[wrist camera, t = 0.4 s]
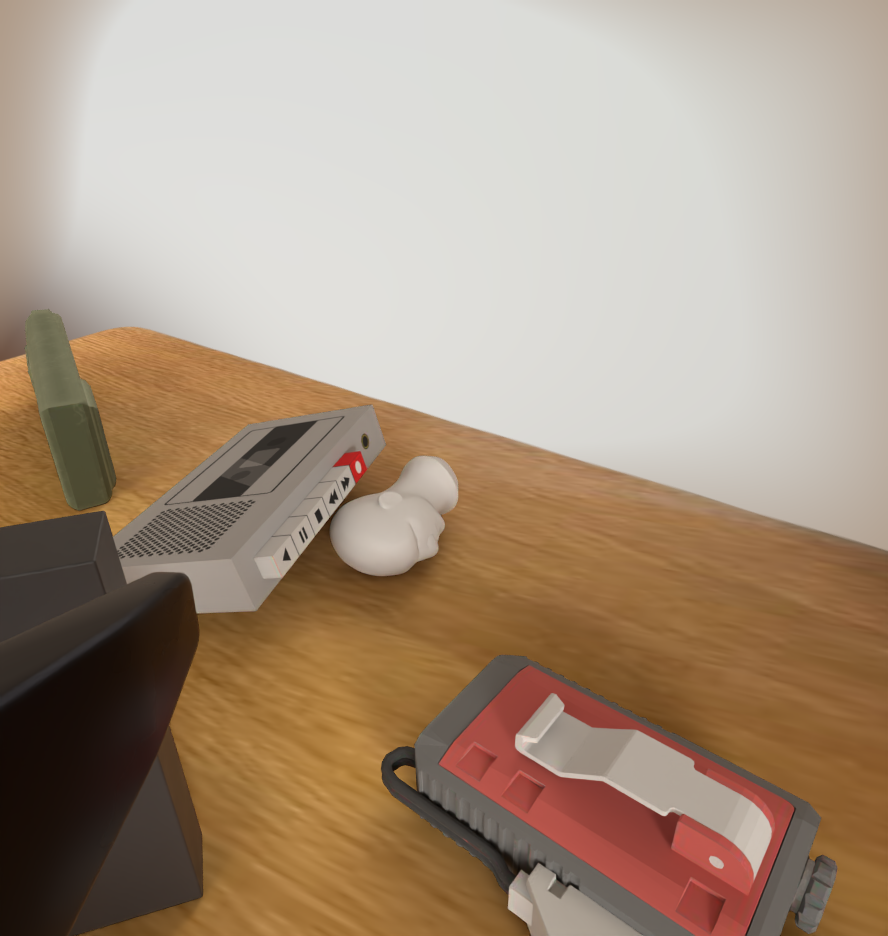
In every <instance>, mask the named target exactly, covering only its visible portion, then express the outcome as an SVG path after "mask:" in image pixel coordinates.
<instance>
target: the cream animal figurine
mask: <svg viewBox="0 0 888 936" xmlns="http://www.w3.org/2000/svg"><path fill="white" fill-rule="evenodd" d="M457 501H458V481H457V478H456V475H455V473H454V472H453V470H452V469H451V467H450V466H449V465H448V464H447V463H446V462H445V461H444V460H443V459H441V458H439V457H434V456H417V457H415V458H413V459H412V460H410V461H409V462H408V463H407V464H406V465H405V467H404V468H403V470H402V472H401V475H400V477H399V479H398V480H397V481H396V483H395V484H393V485H392V486H391V487H390V488H388V489H387V490H385V491H383V492H381V493H377V494H371V495H367V496H363V497H360V498H357V499H355V500H352V501H350V502H348V503H346V504H345V505H343V506H342V507H341V508H340V509H339V510H338V511H337V512H336V513H335V515H334V517H333V519H332V521H331V524H330V540H331V543H332V545H333V548H334V549H335V551H336V553H337V554H338V555H339V557H340V558H341V559H342V560H343V561H344V562H345V563H346V564H348V565H349V566H351V567H352V568H354V569H356V570H358V571H360V572H362V573H365V574H369V575H374V576H391V575H398V574H402V573H404V572H406V571H408V570H409V569H410V568H411V567H412V566H413V565H414V564H415V563H416V562H418V561H422V560H424V559H427V558H431V557H433V556H434V555H436V553H437V552H438V549H439V547H438V543H437V542H438V539H439V535H440V534H441V533H442V532H443V530H444V528H445V523H444V520H443V518H442V517H441V515H442V514H445V513H447V512H449V511H451V510H452V509H453V508H454V507H455V506H456V504H457Z"/></svg>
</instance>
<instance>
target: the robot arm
mask: <svg viewBox="0 0 888 936" xmlns="http://www.w3.org/2000/svg"><path fill="white" fill-rule="evenodd" d="M198 641H199V624H198V619H197V613H196V607H195V601H194V595H193V589H192V584H191V581H190V579H189V577H188V576H187V575H186V574H184V573H180V572H153V573H150V574H148V575H146V576H144V577H142V578H139V579H137V580H135V581H133V582H131V583H129V584H126V585H124V586H122V587H120V588H118V589H116V590H114V591H111V592H109V593H107V594H105V595H103V596H101V597H98V598H96V599H94V600H92V601H90V602H88V603H85V604H83V605H81V606H79V607H77V608H75V609H72V610H70V611H68V612H66V613H64V614H62V615H60V616H57V617H55V618H53V619H51V620H49V621H47V622H44V623H42V624H40V625H38V626H36V627H34V628H31V629H29V630H27V631H25V632H23V633H21V634H18V635H16V636H14V637H12V638H10V639H8V640H6V641H3V642H1V643H0V936H68V935H69V933H70V931H71V929H72V927H73V925H74V923H75V921H76V919H77V917H78V915H79V913H80V911H81V909H82V907H83V905H84V903H85V901H86V899H87V897H88V895H89V893H90V891H91V889H92V887H93V884H94V882H95V880H96V878H97V876H98V874H99V872H100V870H101V868H102V866H103V864H104V862H105V860H106V858H107V856H108V854H109V852H110V850H111V848H112V846H113V844H114V842H115V840H116V838H117V836H118V834H119V832H120V830H121V828H122V826H123V824H124V822H125V820H126V818H127V816H128V814H129V812H130V810H131V808H132V806H133V804H134V802H135V800H136V798H137V796H138V794H139V792H140V790H141V788H142V786H143V784H144V782H145V780H146V778H147V776H148V774H149V772H150V769H151V767H152V765H153V763H154V761H155V759H156V756H157V754H158V752H159V749H160V747H161V744H162V742H163V739H164V737H165V734H166V731H167V729H168V726H169V723H170V720H171V718H172V715H173V712H174V710H175V707H176V704H177V701H178V699H179V696H180V693H181V690H182V688H183V685H184V682H185V679H186V677H187V674H188V671H189V668H190V666H191V663H192V660H193V657H194V655H195V652H196V649H197V646H198Z"/></svg>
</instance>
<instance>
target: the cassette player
mask: <svg viewBox="0 0 888 936" xmlns="http://www.w3.org/2000/svg"><path fill="white" fill-rule="evenodd" d="M385 446H386V443H385V440H384V437H383V434H382V431H381V428H380V425H379V423H378V420H377V417H376V414H375V411H374V408H373V405H366V406H360V407H354V408H348V409H341V410H335V411H329V412H323V413H317V414H311V415H304V416H298V417H292V418H286V419H280V420H274V421H267V422H261V423H255V424H249V425H247V426H246V427H245V428H244V429H242V430H241V431H240V432H239V433H238V434H236V435H235V436H234V437H233V438H232V439H230V440H229V441H228V442H227V443H226V444H224V445H223V446H222V447H221V448H219V449H218V450H217V451H216V452H215V453H213V454H212V455H211V456H210V457H209V458H207V459H206V460H205V461H204V462H203V463H201V464H200V465H199V466H198V467H197V468H195V469H194V470H193V471H192V472H191V473H189V474H188V475H187V476H186V477H185V478H183V479H182V480H181V481H180V482H178V483H177V484H176V485H175V486H174V487H172V488H171V489H170V490H169V491H168V492H166V493H165V494H164V495H163V496H162V497H160V498H159V499H158V500H157V501H156V502H154V503H153V504H152V505H151V506H150V507H148V508H147V509H146V510H145V511H144V512H142V513H141V514H140V515H139V516H137V517H136V518H135V519H134V520H133V521H131V522H130V523H129V524H128V525H127V526H125V527H124V528H123V529H122V530H121V531H119V532H118V533H117V534H116V535H115V536H113V539H114V542H115V546H116V549H117V552H118V556H119V559H120V562H121V566H122V569H123V572H124V576H125V579H126V582H127V584H129V583H131V582H133V581H135V580H137V579H139V578H142V577H144V576H146V575H148V574H150V573H153V572H180V573H184V574H186V575H187V576H188V577H189V579H190V581H191V584H192V589H193V595H194V601H195V607H196V613H220V612H245V611H257V609H258V608H259V607H260V605H261V604H262V603H263V602H264V600H265V599H266V598H267V597H268V595H269V594H270V593H271V591H272V590H273V589H274V588H275V586H276V585H277V584H278V582H279V581H280V580H281V579H282V578H283V576H284V575H285V574H286V573H287V571H288V570H289V569H290V567H291V566H292V565H293V564H294V562H295V561H296V560H297V559H298V557H299V556H300V555H301V553H302V552H303V551H304V550H305V548H306V547H307V546H308V544H309V543H310V542H311V541H312V539H313V538H314V537H315V535H316V534H317V533H318V532H319V530H320V529H321V528H322V527H323V525H324V524H325V523H326V521H327V520H328V519H329V518H330V516H331V515H332V514H333V512H334V511H335V510H336V509H337V507H338V506H339V505H340V504H341V502H342V501H343V500H344V498H345V497H346V496H347V495H348V493H349V492H350V491H351V489H352V488H353V487H354V486H355V484H356V483H357V482H358V481H359V479H360V478H361V477H362V475H363V474H364V473H365V472H366V470H367V469H368V467H369V466H370V465H371V464H372V462H373V461H374V460H375V459H376V457H377V456H378V455H379V453H380V452H381V451H382V450H383V448H384V447H385Z"/></svg>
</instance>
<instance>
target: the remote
mask: <svg viewBox="0 0 888 936" xmlns="http://www.w3.org/2000/svg"><path fill="white" fill-rule="evenodd" d="M126 584H127V582H126V579H125V576H124V572H123V569H122V566H121V562H120V559H119V556H118V552H117V549H116V546H115V542H114V539H113V536H112V532H111V529H110V526H109V522H108V519H107V516H106V513H105V511H99V512H92V513H86V514H80V515H74V516H68V517H62V518H56V519H50V520H44V521H37V522H31V523H25V524H19V525H13V526H7V527H1V528H0V643H1V642H3V641H6V640H8V639H10V638H12V637H14V636H16V635H18V634H21V633H23V632H25V631H27V630H29V629H31V628H34V627H36V626H38V625H40V624H42V623H44V622H47V621H49V620H51V619H53V618H55V617H57V616H60V615H62V614H64V613H66V612H68V611H70V610H72V609H75V608H77V607H79V606H81V605H83V604H85V603H88V602H90V601H92V600H94V599H96V598H98V597H101V596H103V595H105V594H107V593H109V592H111V591H114V590H116V589H118V588H120V587H122V586H124V585H126ZM202 896H203V858H202V833H201V829H200V826H199V823H198V819H197V816H196V813H195V809H194V806H193V803H192V799H191V796H190V793H189V789H188V786H187V783H186V779H185V776H184V773H183V769H182V766H181V763H180V759H179V756H178V753H177V749H176V746H175V743H174V739H173V736H172V733H171V729H170V726H168V729H167V731H166V734H165V737H164V739H163V742H162V744H161V747H160V749H159V752H158V754H157V756H156V759H155V761H154V763H153V765H152V767H151V769H150V772H149V774H148V776H147V778H146V780H145V782H144V784H143V786H142V788H141V790H140V792H139V794H138V796H137V798H136V800H135V802H134V804H133V806H132V808H131V810H130V812H129V814H128V816H127V818H126V820H125V822H124V824H123V826H122V828H121V830H120V832H119V834H118V836H117V838H116V840H115V842H114V844H113V846H112V848H111V850H110V852H109V854H108V856H107V858H106V860H105V862H104V864H103V866H102V868H101V870H100V872H99V874H98V876H97V878H96V880H95V882H94V884H93V887H92V889H91V891H90V893H89V895H88V897H87V899H86V901H85V903H84V905H83V907H82V909H81V911H80V913H79V915H78V917H77V919H76V921H75V923H74V925H73V927H72V929H71V931H70V933H69V935H68V936H75V935H78V934H81V933H85V932H88V931H91V930H95V929H98V928H101V927H105V926H108V925H111V924H115V923H118V922H121V921H124V920H128V919H131V918H134V917H138V916H141V915H144V914H148V913H151V912H154V911H158V910H161V909H164V908H168V907H171V906H174V905H178V904H181V903H184V902H188V901H191V900H194V899H198V898H201V897H202Z"/></svg>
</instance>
